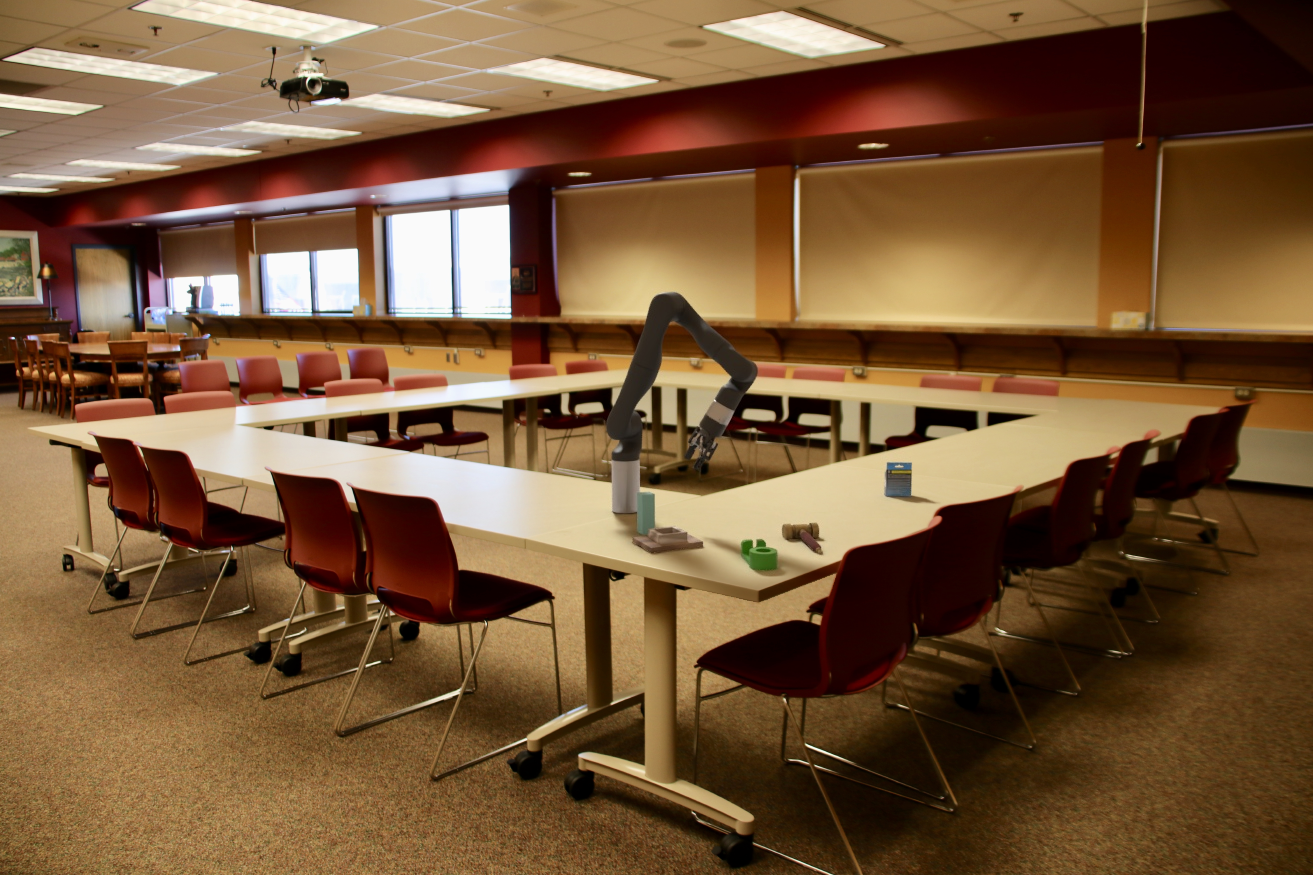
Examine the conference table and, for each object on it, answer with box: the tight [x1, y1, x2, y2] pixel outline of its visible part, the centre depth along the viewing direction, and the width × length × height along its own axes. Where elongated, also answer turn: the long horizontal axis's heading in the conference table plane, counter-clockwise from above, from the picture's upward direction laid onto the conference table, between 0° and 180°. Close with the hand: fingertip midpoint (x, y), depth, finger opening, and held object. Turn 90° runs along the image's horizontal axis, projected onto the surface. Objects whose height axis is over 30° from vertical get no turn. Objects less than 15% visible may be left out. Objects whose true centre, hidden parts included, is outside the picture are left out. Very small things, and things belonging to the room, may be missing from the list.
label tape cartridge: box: [883, 461, 913, 498], centre depth 319 cm, size 9×4×12 cm, turn 84°
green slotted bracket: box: [740, 538, 778, 572], centre depth 237 cm, size 15×7×5 cm, turn 8°
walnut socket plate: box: [632, 525, 704, 554], centre depth 255 cm, size 13×16×4 cm
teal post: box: [636, 491, 656, 536], centre depth 268 cm, size 4×4×12 cm
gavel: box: [781, 522, 822, 554], centre depth 254 cm, size 21×5×10 cm
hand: (690, 464), depth 275 cm, fingers open, 8 cm apart
